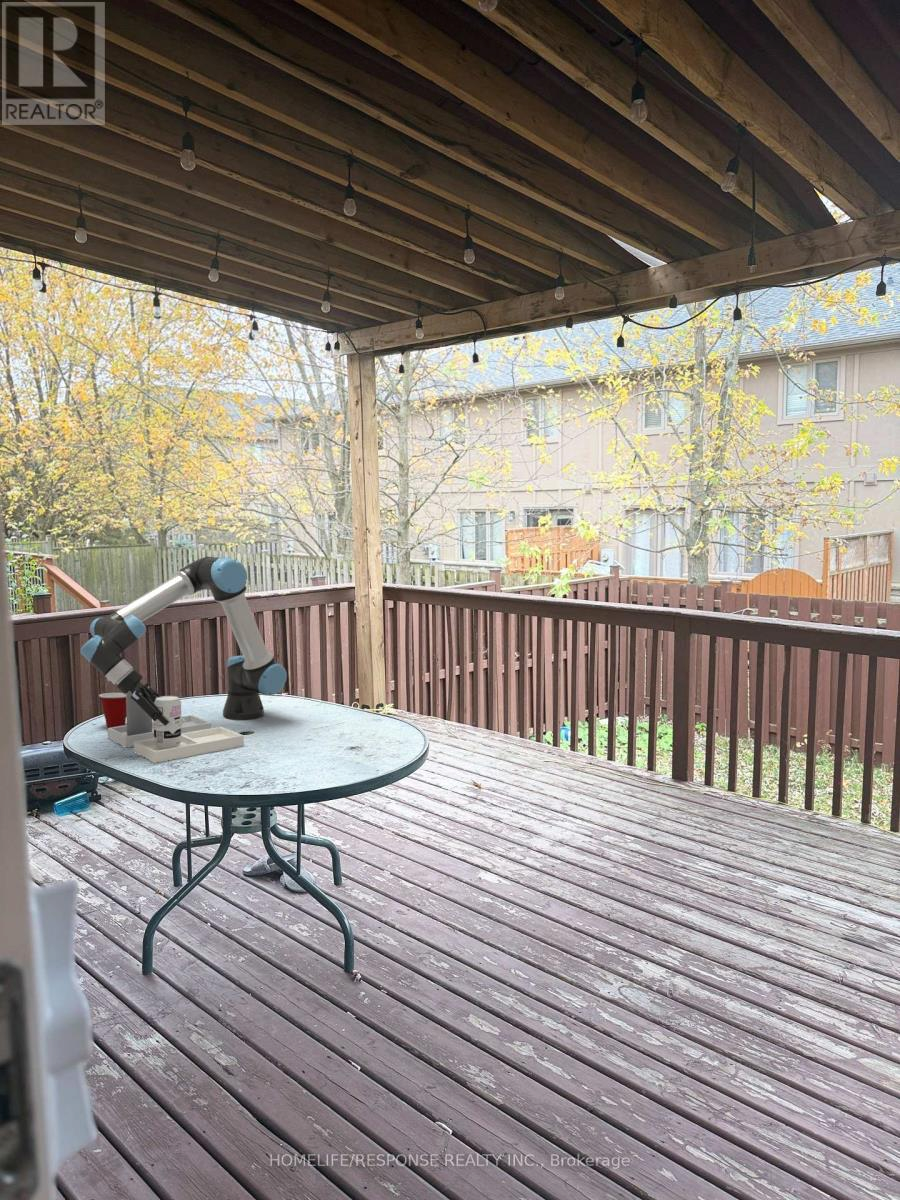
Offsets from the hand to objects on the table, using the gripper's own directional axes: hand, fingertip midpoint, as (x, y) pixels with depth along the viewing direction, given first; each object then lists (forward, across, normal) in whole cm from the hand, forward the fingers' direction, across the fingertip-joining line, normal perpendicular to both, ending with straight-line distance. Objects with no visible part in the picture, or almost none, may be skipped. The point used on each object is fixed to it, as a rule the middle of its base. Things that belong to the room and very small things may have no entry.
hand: (178, 727), depth 252 cm
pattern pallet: (-1, -22, -13) cm, 26 cm away
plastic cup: (-14, -35, -26) cm, 46 cm away
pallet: (+8, -4, -4) cm, 10 cm away
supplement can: (+2, 0, -7) cm, 7 cm away
